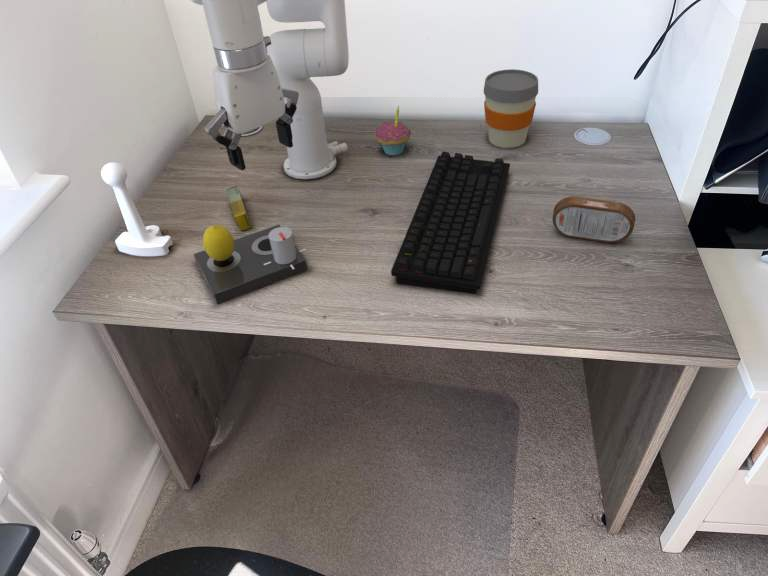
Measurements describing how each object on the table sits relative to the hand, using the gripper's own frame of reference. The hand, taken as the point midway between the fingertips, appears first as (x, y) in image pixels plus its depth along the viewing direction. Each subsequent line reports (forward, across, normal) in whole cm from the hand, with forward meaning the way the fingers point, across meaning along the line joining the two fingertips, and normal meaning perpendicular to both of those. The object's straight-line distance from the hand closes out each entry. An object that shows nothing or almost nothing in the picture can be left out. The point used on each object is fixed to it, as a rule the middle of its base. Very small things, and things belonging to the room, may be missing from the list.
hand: (263, 155), depth 103 cm
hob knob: (+22, 0, 0) cm, 22 cm away
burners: (+22, +4, -7) cm, 23 cm away
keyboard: (+24, -32, +15) cm, 43 cm away
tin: (+24, -46, +37) cm, 64 cm away
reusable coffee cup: (+24, -67, 0) cm, 72 cm away
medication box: (+24, -4, -22) cm, 33 cm away
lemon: (+22, +9, -8) cm, 25 cm away
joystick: (+24, +15, -28) cm, 40 cm away
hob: (+24, +5, -5) cm, 25 cm away
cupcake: (+24, -45, -17) cm, 54 cm away
